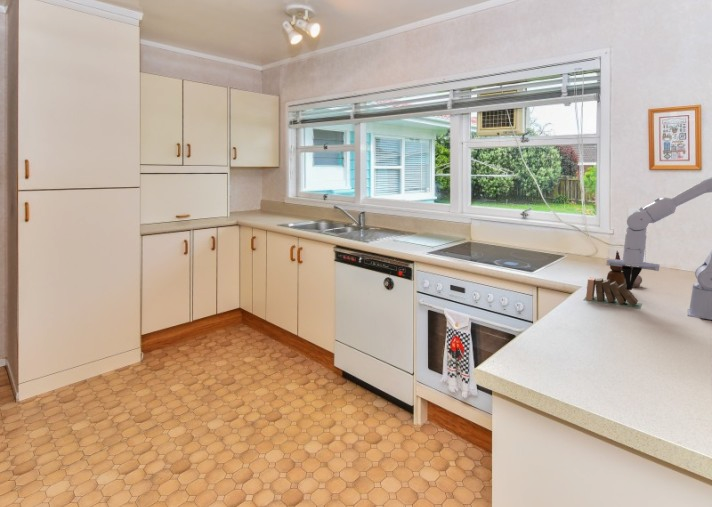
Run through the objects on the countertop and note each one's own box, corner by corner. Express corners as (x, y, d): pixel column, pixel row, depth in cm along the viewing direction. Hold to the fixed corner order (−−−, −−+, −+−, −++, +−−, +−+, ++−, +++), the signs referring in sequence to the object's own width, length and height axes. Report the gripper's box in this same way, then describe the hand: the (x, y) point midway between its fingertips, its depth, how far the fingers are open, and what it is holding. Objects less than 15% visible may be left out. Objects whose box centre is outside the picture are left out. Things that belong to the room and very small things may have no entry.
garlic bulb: (641, 289, 166) (644, 268, 165) (619, 286, 170) (622, 266, 168) (640, 285, 172) (643, 265, 171) (619, 282, 176) (621, 263, 175)
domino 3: (626, 299, 146) (615, 281, 147) (625, 302, 142) (614, 283, 143) (621, 301, 147) (610, 283, 148) (619, 304, 143) (608, 285, 144)
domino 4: (637, 300, 144) (623, 283, 146) (636, 303, 140) (622, 285, 142) (632, 303, 145) (618, 285, 147) (631, 306, 141) (617, 288, 143)
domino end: (593, 297, 152) (595, 278, 150) (591, 300, 148) (593, 280, 147) (588, 296, 153) (590, 277, 152) (585, 299, 149) (587, 279, 148)
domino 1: (604, 298, 150) (603, 278, 149) (602, 301, 146) (601, 280, 146) (599, 298, 151) (597, 278, 150) (596, 301, 147) (595, 280, 147)
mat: (642, 304, 145) (642, 303, 145) (640, 310, 138) (640, 309, 138) (587, 296, 155) (587, 295, 154) (582, 301, 148) (582, 300, 148)
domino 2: (615, 298, 148) (609, 279, 148) (614, 301, 144) (607, 281, 145) (610, 300, 149) (603, 280, 149) (608, 302, 145) (601, 282, 146)
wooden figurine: (606, 287, 168) (610, 249, 165) (624, 289, 164) (628, 250, 162) (604, 291, 162) (608, 251, 160) (622, 293, 159) (627, 253, 156)
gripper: (661, 249, 139) (656, 290, 142) (610, 245, 148) (606, 283, 150) (660, 252, 134) (655, 294, 136) (607, 247, 142) (603, 287, 145)
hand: (629, 289), depth 143 cm, fingers closed
